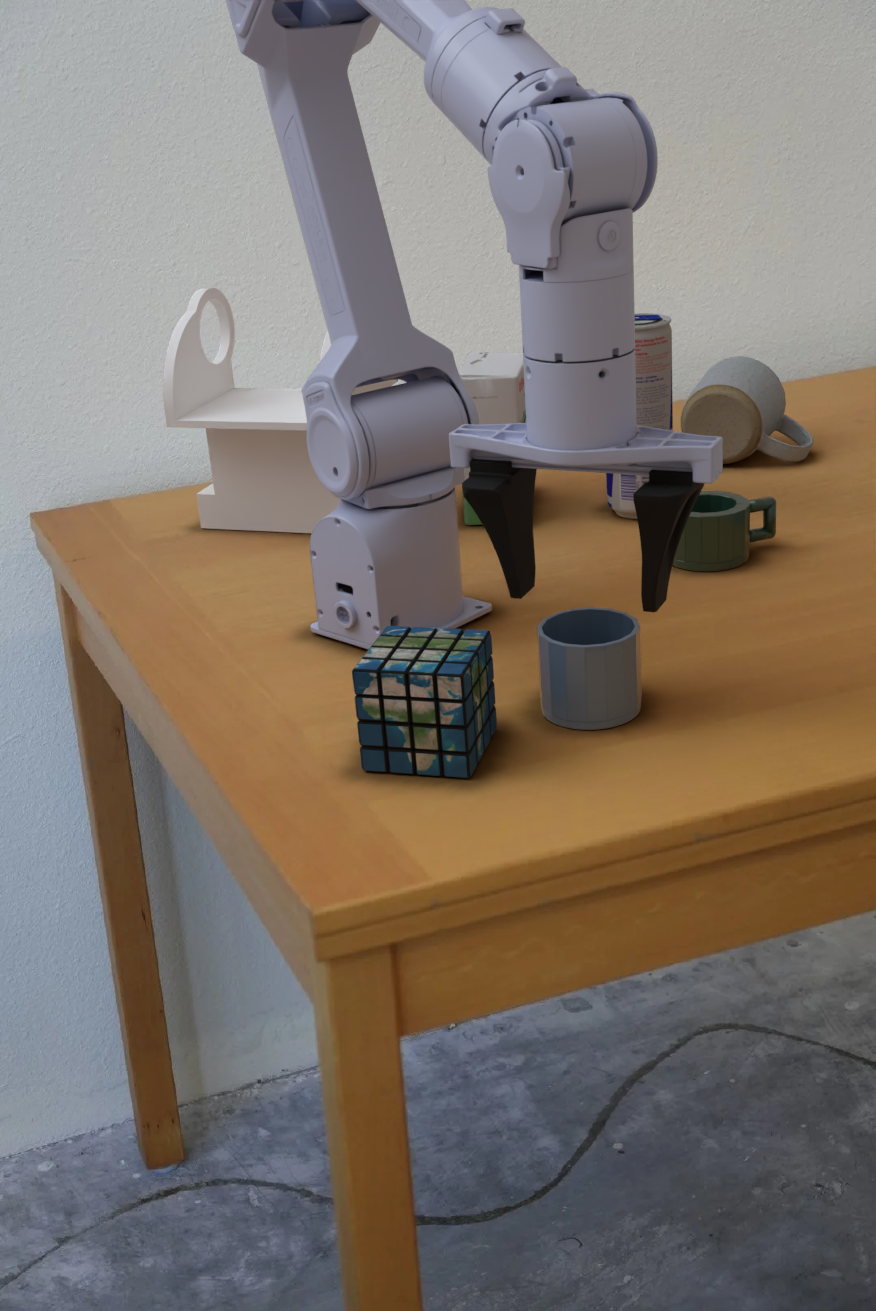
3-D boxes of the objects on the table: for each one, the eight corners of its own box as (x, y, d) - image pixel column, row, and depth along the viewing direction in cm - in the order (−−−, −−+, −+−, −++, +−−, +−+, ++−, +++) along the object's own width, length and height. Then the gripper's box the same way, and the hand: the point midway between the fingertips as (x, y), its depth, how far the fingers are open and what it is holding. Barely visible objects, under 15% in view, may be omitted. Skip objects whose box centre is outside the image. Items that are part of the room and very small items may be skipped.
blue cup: (600, 739, 80) (598, 654, 78) (521, 713, 83) (516, 632, 81) (660, 702, 83) (659, 620, 81) (581, 679, 87) (578, 600, 85)
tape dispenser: (183, 539, 116) (149, 309, 109) (254, 489, 127) (227, 277, 120) (349, 547, 112) (325, 307, 105) (407, 495, 123) (389, 275, 116)
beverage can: (672, 499, 117) (670, 308, 111) (675, 520, 112) (673, 322, 106) (607, 502, 117) (601, 312, 111) (607, 522, 113) (601, 325, 107)
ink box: (526, 525, 114) (518, 373, 109) (462, 526, 114) (452, 375, 110) (536, 491, 121) (530, 348, 116) (476, 492, 122) (467, 350, 117)
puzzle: (470, 780, 77) (463, 675, 74) (361, 772, 78) (350, 669, 76) (497, 728, 82) (491, 628, 79) (395, 722, 84) (385, 624, 81)
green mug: (687, 577, 101) (687, 521, 99) (651, 551, 106) (650, 498, 105) (795, 557, 103) (796, 502, 101) (755, 533, 108) (755, 480, 107)
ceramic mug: (675, 466, 125) (676, 376, 122) (698, 439, 131) (700, 353, 128) (802, 474, 121) (806, 381, 118) (819, 446, 127) (824, 358, 124)
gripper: (739, 337, 76) (737, 584, 81) (480, 331, 82) (494, 562, 87) (700, 368, 70) (701, 633, 75) (425, 360, 76) (444, 605, 81)
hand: (587, 598), depth 81 cm, fingers open, 7 cm apart
